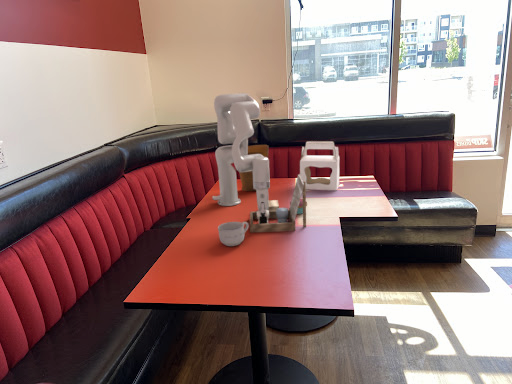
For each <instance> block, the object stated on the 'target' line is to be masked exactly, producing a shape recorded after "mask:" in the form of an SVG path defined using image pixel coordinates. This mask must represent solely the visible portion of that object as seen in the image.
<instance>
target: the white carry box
mask: <svg viewBox="0 0 512 384" xmlns="http://www.w3.org/2000/svg"><path fill="white" fill-rule="evenodd" d="M301 147H302V148H301V156H300V159H299V175H300V177H301V179H302V181H306V190H316V191H317V190H318V191H338V188H339V187H340V155H339V153H340V151H339V146H336V145H335V142H334V141H332V140H331V141H329V140H327V141H321V140H320V141H317V140H316V141H315V140H314V141H313V140H311V141H310V140H309V141H306V142H305V146H301ZM308 150H332V154H333V155H322V154H321V155H313V154H312V155H311V154H309V155H308V153H307V152H308ZM310 167H313V168H314V167H315V168H319V169H320V168H330V169H331V170H332V172H331V173H330V177H329V178H325V177H316V178H312V177H311V174H312V173H311V169H310Z"/></svg>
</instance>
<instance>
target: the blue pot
mask: <svg viewBox="0 0 512 384" xmlns="http://www.w3.org/2000/svg"><path fill="white" fill-rule="evenodd" d="M288 210H289V208H287V207H279V208H278V209H276V217H277V218H276V219H277V223H287V222H288Z"/></svg>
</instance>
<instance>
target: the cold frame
mask: <svg viewBox="0 0 512 384" xmlns="http://www.w3.org/2000/svg"><path fill="white" fill-rule="evenodd" d="M306 196H307V189H306V181H302V179H301V177H300V173H299V174H297V178H296V182H295V185H294V189H293V193H292V198H291V201H290V202H291V205H290V204H289V207H288V218H289V222H287V223H278V222H270V223H269V222H268V223H265V224H258V223H254V220H258V219H257V210H256V211H250V212H249V233H250V234H251V233H270V232H271V233H272V232H292V231H296V229H297V228H296V218H297V215H298V214H297V210H298V206H299V203H300V199H303V213H302V227H303V228H306V227H307V206H306V201H307V197H306ZM269 218H271V219H278V218H277V217H276V211H269ZM288 218H287V219H288Z"/></svg>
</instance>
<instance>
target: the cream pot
mask: <svg viewBox="0 0 512 384" xmlns="http://www.w3.org/2000/svg"><path fill="white" fill-rule="evenodd" d="M264 210H265V209H264ZM256 211H257V219H256V220H258V221H257V222H258V223H257V224H260V211H259V210H258V209H257V210H256ZM261 212H262V211H261ZM264 212H265V211H264ZM266 216H267V223H269V210H266Z"/></svg>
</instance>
